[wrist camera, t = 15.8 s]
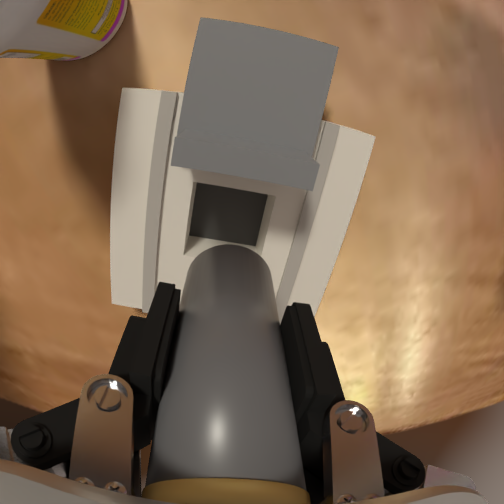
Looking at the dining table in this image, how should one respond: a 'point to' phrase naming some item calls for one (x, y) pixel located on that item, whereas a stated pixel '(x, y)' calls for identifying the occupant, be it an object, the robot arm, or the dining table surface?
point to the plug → (226, 392)
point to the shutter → (254, 103)
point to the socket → (222, 208)
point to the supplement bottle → (58, 27)
